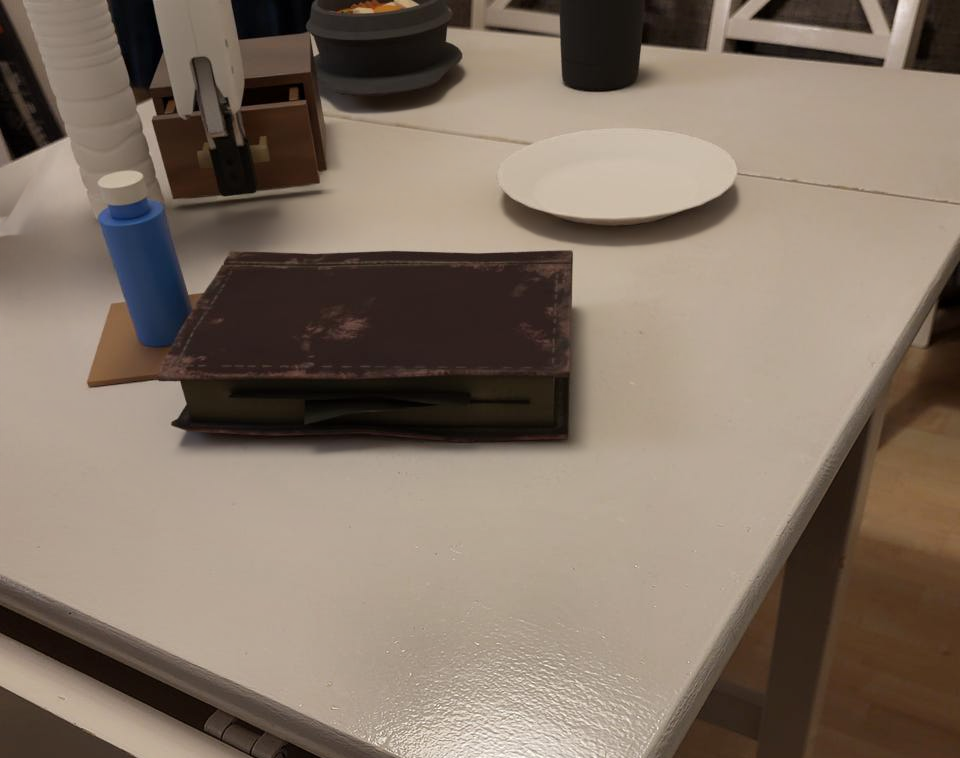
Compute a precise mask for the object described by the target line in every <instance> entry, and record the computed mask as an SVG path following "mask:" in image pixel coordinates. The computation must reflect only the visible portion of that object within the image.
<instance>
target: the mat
mask: <svg viewBox="0 0 960 758" xmlns="http://www.w3.org/2000/svg"><path fill="white" fill-rule="evenodd" d="M203 293H204V292H200V293H191V294H188V295H189V299H190V302H191V306H192V309H193V308H194V306H195V305H196V303H197V301H198V300H199V299H200V297H201V296H202V294H203ZM97 345H98V346H97V348H96V352H95V354H94V358H93V360H92V364H91V366H90V367H91V368H90V370H89V374H88V378H87V381H86V384H87V386H88V388H90V387H92V388H93V387H100V386H107V385H116V384H123V383H125V384H126V383H133V382H140V381H141V382H142V381H149V380H157V377H158V374H159V371H160V368H161V365H162V363H163V361H164V360H165V358H166V356H167V354H168V352H169V350H170V348H171V346H172V345H171V346H165V347H151V346H147V345H144V344H142V343H141V342H140V341H139V340H138V338H137V335H136V332H135V329H134V326H133V323H132V320H131V317H130V314H129V311H128V308H127V305H126V302H125V301H121V302H112V303H110V306H109V309H108V313H107V316H106V318H105V322H104V326H103V329H102V332H101V336H100V337H99V342H98V344H97Z"/></svg>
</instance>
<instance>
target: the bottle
mask: <svg viewBox="0 0 960 758" xmlns="http://www.w3.org/2000/svg"><path fill="white" fill-rule="evenodd" d="M98 187H99V190H100V193H101V196H102V199H103V201H104V203H106V204H108V208H106V209H104V210H103V211H102V212H101V213H100V214H99V216H98V220H97V221H98V225H99V227H100V230H101V233H102V236H103V239H104V242H105V244H106V249H107V250H108V255H109V256H110V260H111V263H112V266H113V269H114V272H115V274H116V278H117V280H118V284H119V287H120V289H121V293H122V296H123V299H124V302H126V305H127V308H128V311H129V314H130V317H131V320H132V323H133V326H134V329H135V332H136V335H137V338H138V340H139V341H140V342H141V343H142V344H144V345H147V346H151V347H165V346H171V345H172V344H173V342H174V340H175V339H176V337H177V335H178V333H179V331H180V329H181V328H182V326H183V324H184V323H185V321H186V319H187V318H188V316H189V314H190V313H191V311H192V310H193V309H192V306H191V302H190V299H189V295H190V294H189V292H188V288H187V285H186V282H185V278H184V275H183V272H182V271H183V270H182V267H181V264H180V261H179V257H178V253H177V250H176V247H175V244H174V243H175V242H174V240H173V236H172V233H171V229H170V226H169V221H168V218H167V215H166V212H165V211H166V210H165V207H163V205H162V204H161V203H159V202H157V201H154V200H147V195H148V190H147V187H146V183H145V180H144V176H143V174H142V173H140V172H137V171H120V172H115V173H111V174H108V175H106V176H104V177H102V178H101V179H99V181H98Z"/></svg>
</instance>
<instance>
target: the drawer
mask: <svg viewBox="0 0 960 758" xmlns="http://www.w3.org/2000/svg"><path fill="white" fill-rule="evenodd" d="M240 110H241V115H242V120H243V125H244V130H245V137H243V138H248V140H249V145H250V150H251V154H252V159H253V163H254V168H255V173H256V177H257V191H261V190H271V189H280V188H288V187H296V186H306V185H314V184H315V185H316V184H320V181H321V180H320V179H321V178H320V173H319V170H318V166H317V160H316V155H315V149H314V143H313V137H312V131H311V125H310V119H309V113H308V107H307V102H306V100H304V98H303V92H302V86H301V83H296V84H287V85H277V86H268V87H258V88H248V89H244V91H243V97H242V103H241V107H240ZM151 123H152V127H153V132H154V135H155V138H156V142H157V145H158V149H159V152H160V156H161V160H162V163H163V164H162V165H163V166H164V170H165V174H166V178H167V182H168V185H169V189H170V192H171V197H172V199H173V200H179V199H188V198H198V197H207V196H216V195H221V194H220V192H219V189H218V184H217V180H216V176H215V172H214V168H213V164H212V160H211V156H210V152H209V143H208V140H207V136H206V132H205V129H204V125H203V121H202V118H201V114H200V110H199V106H198V103H197V100H196V103H195V106H194V110H193V114H192V115H190V117H189V119H188V120H184V119H183V118H181V117H180V116H179V115H178V112H177V108H176V104H175V100H174V96H172V97H170V98H169V101H168V104H167V107H166V110H165V115H158V116H157V115H152V118H151Z"/></svg>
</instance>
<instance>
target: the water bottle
mask: <svg viewBox="0 0 960 758" xmlns="http://www.w3.org/2000/svg"><path fill="white" fill-rule="evenodd" d="M22 4H23V7H24V9H25V10H26V16H27V19H28V21H29V22H30V23H29V24H30V27H31V31H32V32H33V33H34V34H33V36H34V40H35V42H36V43H37V49H38V52H39V54H40V55H41V61H42V64H43V65H44V66H45V73H46V76H47V79H48V82H49V86H50V89H51V92H52V93H53V95H54V96H55V98H56V99H55V101H56V107H57V109H58V112H59V115H60V117H61V120H62V121H63V123H64V131H65V133H66V136H67V137H68V139H69V140H70V148H71V151H72V154H73V157H74V159H75V162H76V164H77V166H78V168H79V169H78V170H79V174H80V178H81V181H82V183H83V186H84V188H85V189H86V195H87V199H88V202H89V205H90V208H91V211H92V213H93V215H94V218H95V219H96V220H97V221H98V216H99V214H100V213H101V212H102V211H103V210H104V209H106V208H108V204H106V203H104V201H103V199H102V196H101V193H100V190H99V187H98V181H99V179H101V178H102V177H104V176H106V175H108V174H111V173H115V172H120V171H137V172H140V173H142V174H143V176H144V180H145V183H146V187H147V190H148V195H147V200H154V201H157V202H159V203H161V204H162V205H163V208H165V199H164V195H163V192H162V188H161V186H160V182H159V180H158V177H157V175H156V174H157V173H156V168H155V164H154V161H153V158H152V156H151V154H150V148H149V143H148V140H147V137H146V135H145V133H144V131H143V130H144V127H143V123H142V119H141V116H140V114H139V112H138V111H137V109H138V107H137V102H136V101H137V100H136V98H135V94H134V92H133V88H132V87H131V86H130V84H131V83H130V76H129V73H128V70H127V66H126V64H125V60H124V57H123V55H122V50H121V47H120V44H119V43H118V42H119V40H118V36H117V33H116V32H115V30H116V28H115V25H114V23H113V21H112V14H111V12H110V10H109V4H108V1H107V0H22Z"/></svg>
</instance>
